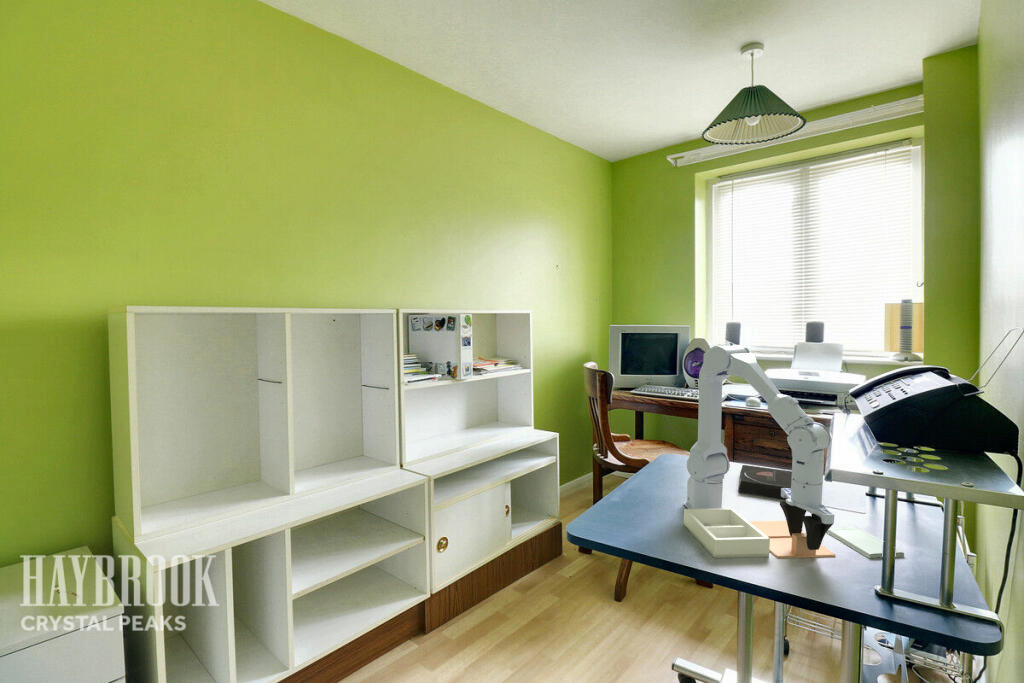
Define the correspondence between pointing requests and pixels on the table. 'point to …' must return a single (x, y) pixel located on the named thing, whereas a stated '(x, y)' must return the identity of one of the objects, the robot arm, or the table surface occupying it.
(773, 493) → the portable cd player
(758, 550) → the tub
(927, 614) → the table surface
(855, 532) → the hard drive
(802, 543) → the lid
